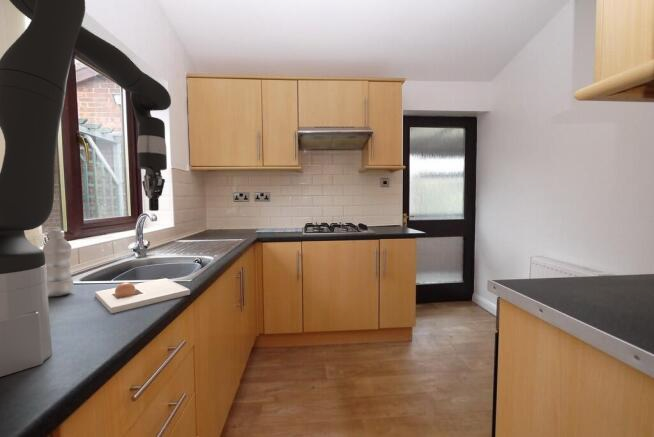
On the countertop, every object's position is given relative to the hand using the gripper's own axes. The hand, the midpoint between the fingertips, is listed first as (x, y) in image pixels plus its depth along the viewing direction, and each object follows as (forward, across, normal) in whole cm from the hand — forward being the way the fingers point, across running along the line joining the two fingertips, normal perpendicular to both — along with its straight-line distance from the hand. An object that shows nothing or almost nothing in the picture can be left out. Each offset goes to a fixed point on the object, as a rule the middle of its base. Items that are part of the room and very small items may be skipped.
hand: (153, 210), depth 89 cm
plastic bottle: (+26, +23, +20) cm, 40 cm away
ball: (+24, +3, +7) cm, 25 cm away
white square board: (+26, +3, +3) cm, 26 cm away
